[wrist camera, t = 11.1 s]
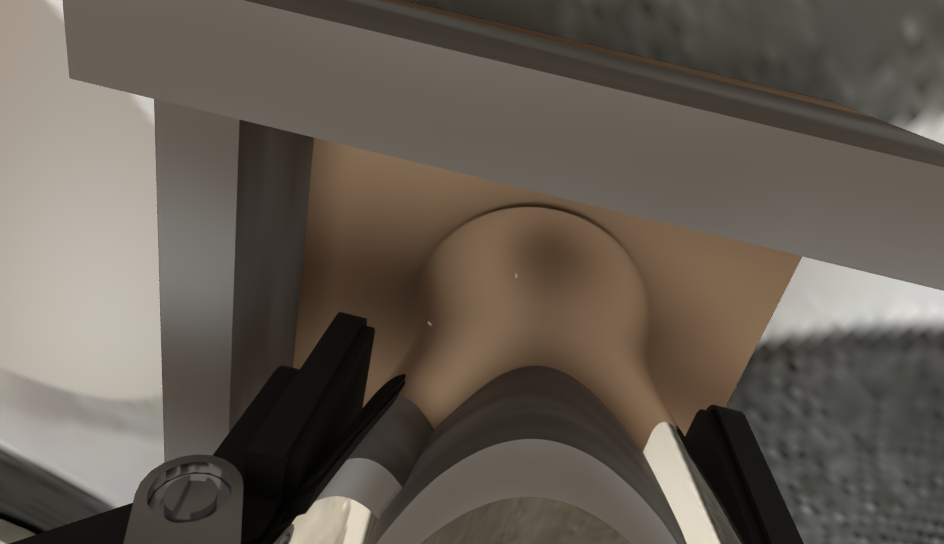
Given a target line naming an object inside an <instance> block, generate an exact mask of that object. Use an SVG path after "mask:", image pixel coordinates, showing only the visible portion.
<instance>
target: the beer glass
mask: <svg viewBox="0 0 944 544" xmlns="http://www.w3.org/2000/svg"><path fill="white" fill-rule="evenodd" d="M648 335H649V306H648V299H647V294H646V290H645V287H644V283H643V280H642V278H641V275H640V273H639V271H638V269H637V267H636V265H635V264H634V262H633V261H632V259H631V258H630V256H629V255H628V254H627V252H626V251H625V250H624V249H623V248H622V246H621V245H620V244H619V243H618V242H617V241H616V240H614V239H613V238H612V237H611V236H610V235H609V234H607V233H606V232H605V231H604V230H602V229H601V228H599V227H598V226H596V225H594V224H593V223H591V222H589V221H587V220H585V219H583V218H581V217H579V216H576V215H573V214H571V213H568V212H564V211H560V210H556V209H551V208H544V207H513V208H506V209H501V210H497V211H493V212H490V213H487V214H484V215H482V216H479V217H477V218H475V219H473V220H471V221H469V222H467V223H465V224H464V225H462V226H461V227H459V228H458V229H456V230H455V231H454V232H452V233H451V234H450V235H449V236H448V237H446V238H445V239H444V240H443V241H442V242H441V243H440V244H439V245H438V247H437V248H436V249H435V250H434V252H433V253H432V255H431V256H430V258H429V260H428V261H427V263H426V265H425V267H424V269H423V271H422V274H421V276H420V279H419V282H418V286H417V290H416V294H415V299H414V306H413V315H412V329H411V342H410V346H409V348H408V349H407V351H406V353H405V355H404V356H403V358H402V359H401V360H400V362H399V363H398V364H397V366H396V367H395V368H394V370H393V371H392V372H391V374H390V375H389V376H388V378H387V379H386V380H385V381H384V383H383V384H382V385H381V386H380V388H379V389H378V390H377V391H376V392H375V394H374V395H373V396H372V397H371V399H370V400H369V401H368V402H367V403H366V405H365V406H364V407H363V408H362V409H361V411H360V412H359V413H358V414H357V416H356V417H355V418H354V419H353V420H352V422H351V423H350V424H349V425H348V427H347V428H346V429H345V431H344V432H343V433H342V434H341V436H340V437H339V438H338V439H337V441H336V442H335V443H334V444H333V446H332V447H331V448H330V449H329V451H328V452H327V453H326V455H325V456H324V457H323V458H322V460H321V461H320V462H319V463H318V465H317V466H316V467H315V468H314V470H313V471H312V472H311V473H310V475H309V476H308V477H307V479H306V480H305V481H304V483H303V484H302V486H301V487H300V488H299V490H298V491H297V493H296V494H295V496H294V497H293V498H292V500H291V501H290V503H289V504H288V505H287V507H286V508H285V510H284V511H283V513H282V514H281V515H280V517H279V518H278V520H277V521H276V523H275V524H274V525H273V527H272V528H271V530H270V531H269V532H268V534H267V535H266V537H265V538H264V540H263V541H262V542H261V544H747V543H746V541H745V539H744V537H743V535H742V533H741V531H740V529H739V527H738V526H737V524H736V522H735V520H734V519H733V517H732V515H731V514H730V512H729V510H728V508H727V507H726V505H725V503H724V502H723V500H722V498H721V497H720V495H719V493H718V491H717V490H716V488H715V486H714V485H713V483H712V481H711V479H710V478H709V476H708V474H707V473H706V471H705V469H704V467H703V466H702V464H701V462H700V461H699V459H698V457H697V456H696V454H695V452H694V451H693V449H692V447H691V446H690V444H689V442H688V441H687V439H686V437H685V436H684V434H683V433H682V431H681V429H680V428H679V426H678V424H677V423H676V421H675V419H674V418H673V416H672V414H671V413H670V411H669V409H668V408H667V406H666V404H665V402H664V400H663V399H662V397H661V395H660V393H659V391H658V390H657V388H656V386H655V384H654V382H653V380H652V377H651V374H650V372H649V369H648V364H647V347H648Z"/></svg>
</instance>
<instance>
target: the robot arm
mask: <svg viewBox="0 0 944 544" xmlns="http://www.w3.org/2000/svg"><path fill="white" fill-rule="evenodd" d="M374 335H375V328H374V327H370V326H367V319H366V318H363V317H359V316H355V315H351V314H347V313H343V312H338V314H337V315H336V316H335V318H334V319H333V321H332V322H331V324H330V325H329V327H328V328H327V330H326V331H325V333H324V334H323V336H322V337H321V339H320V340H319V342H318V343H317V345H316V346H315V348H314V349H313V351H312V352H311V354H310V355H309V356H308V358H307V359H306V361H305V362H304V364H303V365H302V367H301V368H300V369H296V368H292V367H288V366H284V365H281V366H279V367H278V368H277V369H276V370H275V371H274V373H273V374H272V375H271V377H270V378H269V379H268V381H267V382H266V383H265V385H264V386H263V387H262V389H261V390H260V392H259V393H258V394H257V396H256V397H255V398H254V400H253V401H252V402H251V404H250V405H249V406H248V408H247V409H246V411H245V412H244V413H243V415H242V416H241V417H240V419H239V420H238V421H237V423H236V424H235V425H234V427H233V428H232V430H231V431H230V432H229V434H228V435H227V436H226V438H225V439H224V440H223V442H222V443H221V444H220V446H219V447H218V449H217V450H216V451H215V453H214V454H213V455H199V454H195V455H189V456H182V457H178V458H176V459H173V460H170V461H168V462H165V463H163V464H162V465H160V466H158V467H157V468H155V469H154V470H152V471H151V472H150V473H149V474H148V475H147V476H146V477H145V478H144V479H143V480H142V481H141V483H140V485H139V487H138V489H137V492H136V494H135V497H134V501H133V503H131V504H128V505H125V506H122V507H119V508H116V509H113V510H110V511H107V512H104V513H101V514H98V515H95V516H92V517H88V518H85V519H82V520H79V521H76V522H73V523H70V524H67V525H64V526H61V527H58V528H55V529H52V530H49V531H46V532H43V533H40V534H35V533H33V532H32V531H30V530H28V529H25V528H23V527H20V526H18V525H16V524H13V523H11V522H9V521H6V520H4V519H0V544H261V542H262V541H263V540H264V538H265V537H266V535H267V534H268V532H269V531H270V530H271V528H272V527H273V525H274V524H275V523H276V521H277V520H278V518H279V517H280V515H281V514H282V513H283V511H284V510H285V508H286V507H287V505H288V504H289V503H290V501H291V500H292V498H293V497H294V496H295V494H296V493H297V491H298V490H299V488H300V487H301V486H302V484H303V483H304V481H305V480H306V479H307V477H308V476H309V475H310V473H311V472H312V471H313V470H314V468H315V467H316V466H317V465H318V463H319V462H320V461H321V460H322V458H323V457H324V456H325V455H326V453H327V452H328V451H329V449H330V448H331V447H332V446H333V444H334V443H335V442H336V441H337V439H338V438H339V437H340V436H341V434H342V433H343V432H344V431H345V429H346V428H347V427H348V425H349V424H350V423H351V422H352V420H353V419H354V418H355V417H356V416H357V414H358V413H359V412H360V411H361V409H362V408H363V402H364V396H365V390H366V384H367V378H368V372H369V366H370V359H371V353H372V347H373V341H374ZM685 437H686V439H687V441H688V442H689V444H690V446H691V447H692V449H693V451H694V452H695V454H696V456H697V457H698V459H699V461H700V462H701V464H702V466H703V467H704V469H705V471H706V473H707V474H708V476H709V478H710V479H711V481H712V483H713V485H714V486H715V488H716V490H717V491H718V493H719V495H720V497H721V498H722V500H723V502H724V503H725V505H726V507H727V508H728V510H729V512H730V514H731V515H732V517H733V519H734V520H735V522H736V524H737V526H738V527H739V529H740V531H741V533H742V535H743V537H744V539H745V541H746V543H747V544H804V543H803V541H802V539H801V537H800V535H799V532H798V530H797V528H796V526H795V524H794V522H793V519H792V517H791V515H790V513H789V511H788V508H787V506H786V504H785V502H784V500H783V498H782V495H781V493H780V491H779V489H778V487H777V485H776V482H775V480H774V478H773V476H772V474H771V471H770V469H769V467H768V465H767V463H766V461H765V458H764V456H763V454H762V452H761V450H760V447H759V445H758V443H757V441H756V439H755V437H754V434H753V432H752V430H751V428H750V426H749V424H748V421H747V419H746V417H745V415H744V414H743V413H742V412H740V411H737V410H733V409H729V408H725V407H721V406H717V405H710V406H709V407H708V408H707V409H706V410H703V409H700V410H699V411H698V412H697V413H696V415H695V417H694V419H693V421H692V423H691V425H690V427H689V429H688V431H687V433H686V435H685Z"/></svg>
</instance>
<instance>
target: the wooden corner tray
mask: <svg viewBox="0 0 944 544" xmlns="http://www.w3.org/2000/svg"><path fill="white" fill-rule="evenodd" d="M63 10H64V21H65V31H66V43H67V54H68V65H69V77H70V78H71V79H75V80H79V81H83V82H88V83H92V84H96V85H100V86H104V87H108V88H112V89H116V90H120V91H125V92H129V93H133V94H137V95H141V96H145V97H149V98H153V99H154V111H155V145H156V177H157V178H156V180H157V214H158V248H159V278H160V279H159V281H160V316H161V350H162V382H163V383H162V385H163V419H164V454H165V462H168V461H170V460H173V459H176V458H178V457H182V456H189V455H195V454H199V455H213V454H214V453H215V451H216V450H217V449H218V447H219V446H220V444H221V443H222V442H223V440H224V439H225V438H226V436H227V435H228V434H229V432H230V431H231V430H232V428H233V427H234V425H235V424H236V423H237V421H238V420H239V419H240V417H241V416H242V415H243V413H244V412H245V411H246V409H247V408H248V406H249V405H250V404H251V402H252V401H253V400H254V398H255V397H256V396H257V394H258V393H259V392H260V390H261V389H262V387H263V386H264V385H265V383H266V382H267V381H268V379H269V378H270V377H271V375H272V374H273V373H274V371H275V370H276V369H277V368H278V367H279V366H281V365H284V366H288V367H292V368H296V369H300V368H301V367H302V365H303V364H304V362H305V361H306V359H307V358H308V356H309V355H310V354H311V352H312V351H313V349H314V348H315V346H316V345H317V343H318V342H319V340H320V339H321V337H322V336H323V334H324V333H325V331H326V330H327V328H328V327H329V325H330V324H331V322H332V321H333V319H334V318H335V316H336V315H337V314H338V312H343V313H347V314H351V315H355V316H359V317H363V318H366V319H367V326H370V327H374V328H375V335H374V341H373V347H372V353H371V359H370V366H369V372H368V378H367V384H366V390H365V396H364V402H363V407H364V406H365V405H366V403H367V402H368V401H369V400H370V399H371V397H372V396H373V395H374V394H375V392H376V391H377V390H378V389H379V388H380V386H381V385H382V384H383V383H384V381H385V380H386V379H387V378H388V376H389V375H390V374H391V372H392V371H393V370H394V368H395V367H396V366H397V364H398V363H399V362H400V360H401V359H402V358H403V356H404V355H405V353H406V351H407V349H408V348H409V346H410V342H411V329H412V315H413V306H414V299H415V294H416V290H417V286H418V282H419V279H420V276H421V274H422V271H423V269H424V267H425V265H426V263H427V261H428V260H429V258H430V256H431V255H432V253H433V252H434V250H435V249H436V248H437V247H438V245H439V244H440V243H441V242H442V241H443V240H444V239H445V238H446V237H448V236H449V235H450V234H451V233H452V232H454V231H455V230H456V229H458V228H459V227H461V226H462V225H464V224H465V223H467V222H469V221H471V220H473V219H475V218H477V217H479V216H482V215H484V214H487V213H490V212H493V211H497V210H501V209H506V208H513V207H544V208H551V209H556V210H560V211H564V212H568V213H571V214H573V215H576V216H579V217H581V218H583V219H585V220H587V221H589V222H591V223H593V224H594V225H596V226H598V227H599V228H601V229H602V230H604V231H605V232H606V233H607V234H609V235H610V236H611V237H612V238H613V239H614V240H616V241H617V242H618V243H619V244H620V245H621V246H622V248H623V249H624V250H625V251H626V252H627V254H628V255H629V256H630V258H631V259H632V261H633V262H634V264H635V265H636V267H637V269H638V271H639V273H640V275H641V278H642V280H643V283H644V287H645V290H646V294H647V299H648V306H649V335H648V347H647V364H648V369H649V372H650V374H651V377H652V380H653V382H654V384H655V386H656V388H657V390H658V391H659V393H660V395H661V397H662V399H663V400H664V402H665V404H666V406H667V408H668V409H669V411H670V413H671V414H672V416H673V418H674V419H675V421H676V423H677V424H678V426H679V428H680V429H681V431H682V433H683V434H684V436H685V435H686V433H687V431H688V429H689V427H690V425H691V423H692V421H693V419H694V417H695V415H696V413H697V412H698V411H699V410H700V409H703V410H706V409H707V408H708V407H709V406H710V405H717V406H721V407H726V405H727V403H728V401H729V399H730V397H731V395H732V393H733V391H734V389H735V387H736V385H737V383H738V382H739V380H740V378H741V376H742V374H743V372H744V370H745V368H746V366H747V364H748V362H749V360H750V358H751V356H752V354H753V352H754V350H755V348H756V346H757V344H758V342H759V340H760V338H761V336H762V334H763V332H764V330H765V328H766V326H767V324H768V323H769V321H770V319H771V317H772V315H773V313H774V311H775V309H776V307H777V305H778V303H779V301H780V299H781V297H782V295H783V293H784V291H785V289H786V287H787V285H788V283H789V281H790V279H791V277H792V275H793V273H794V271H795V269H796V267H797V265H798V264H799V262H800V260H801V258H802V256H803V257H807V258H812V259H816V260H820V261H824V262H828V263H832V264H836V265H840V266H845V267H849V268H853V269H857V270H861V271H865V272H869V273H873V274H877V275H882V276H886V277H890V278H894V279H898V280H902V281H906V282H910V283H914V284H919V285H923V286H927V287H931V288H935V289H939V290H943V291H944V145H943V144H941V143H938V142H936V141H933V140H930V139H928V138H925V137H923V136H920V135H917V134H915V133H912V132H910V131H907V130H904V129H902V128H899V127H897V126H894V125H891V124H889V123H886V122H884V121H881V120H878V119H876V118H873V117H871V116H868V115H866V114H863V113H860V112H858V111H855V110H853V109H850V108H847V107H845V106H842V105H840V104H837V103H834V102H830V101H826V100H822V99H818V98H813V97H809V96H805V95H801V94H797V93H792V92H788V91H784V90H780V89H776V88H771V87H767V86H763V85H759V84H754V83H750V82H746V81H742V80H738V79H733V78H729V77H725V76H721V75H717V74H712V73H708V72H704V71H700V70H695V69H691V68H687V67H683V66H679V65H674V64H670V63H666V62H662V61H658V60H653V59H649V58H645V57H641V56H636V55H632V54H628V53H624V52H620V51H615V50H611V49H607V48H603V47H599V46H594V45H590V44H586V43H582V42H577V41H573V40H569V39H565V38H561V37H556V36H552V35H548V34H544V33H540V32H535V31H531V30H527V29H523V28H518V27H514V26H510V25H506V24H502V23H497V22H493V21H489V20H485V19H481V18H476V17H472V16H468V15H464V14H459V13H455V12H451V11H447V10H443V9H438V8H434V7H430V6H426V5H421V4H417V3H413V2H409V1H405V0H63Z"/></svg>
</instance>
